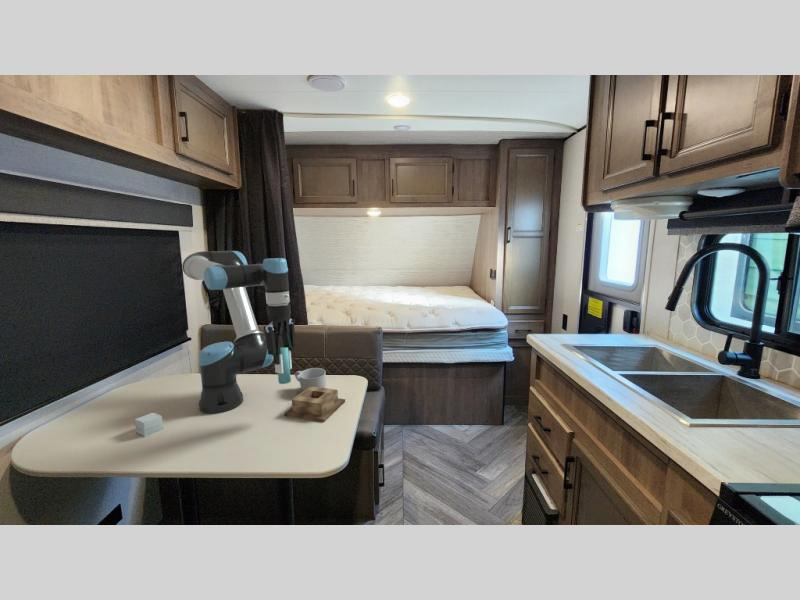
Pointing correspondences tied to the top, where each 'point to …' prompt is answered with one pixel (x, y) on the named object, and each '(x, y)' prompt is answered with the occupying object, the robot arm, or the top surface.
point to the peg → (284, 367)
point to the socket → (315, 404)
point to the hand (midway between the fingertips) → (283, 370)
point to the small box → (148, 424)
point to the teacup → (311, 378)
